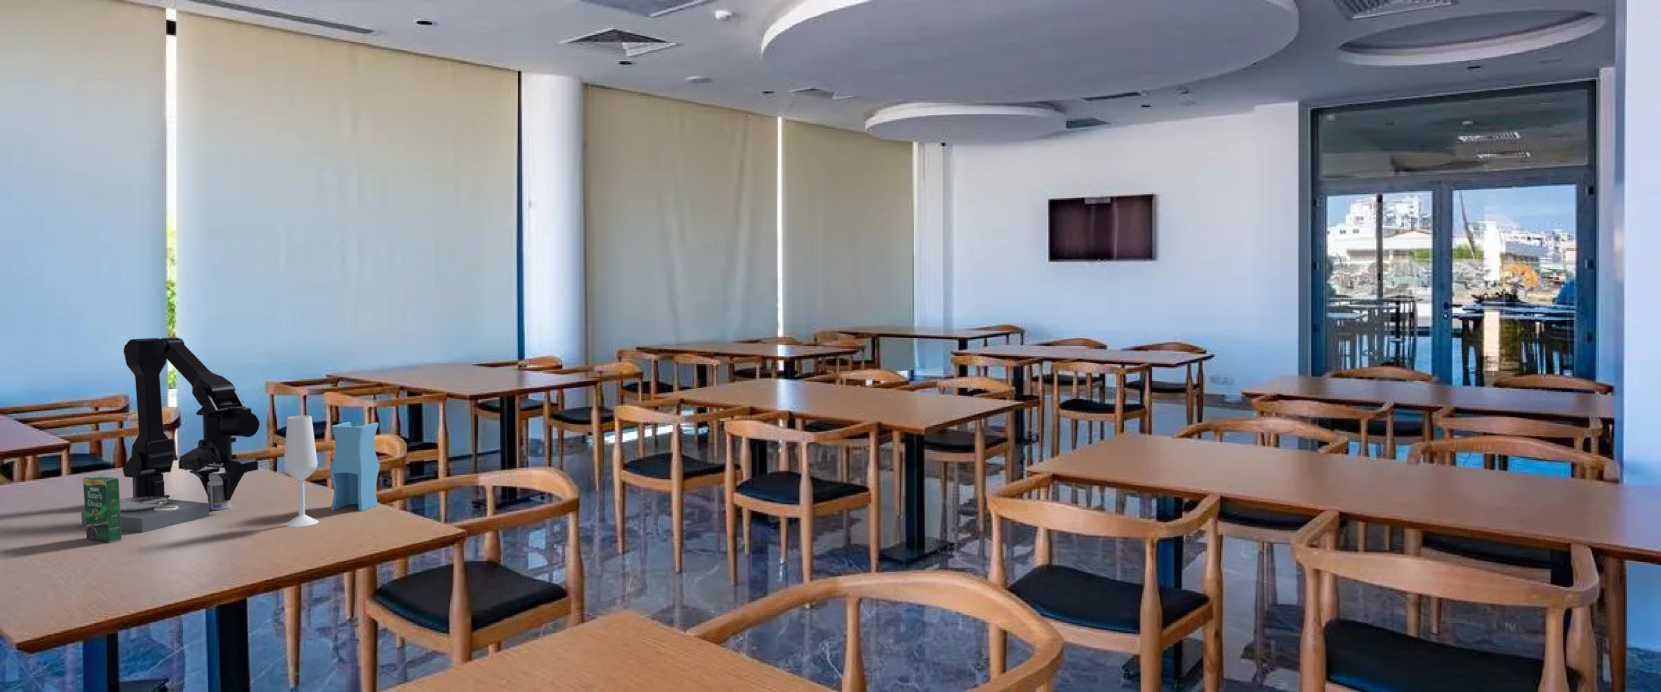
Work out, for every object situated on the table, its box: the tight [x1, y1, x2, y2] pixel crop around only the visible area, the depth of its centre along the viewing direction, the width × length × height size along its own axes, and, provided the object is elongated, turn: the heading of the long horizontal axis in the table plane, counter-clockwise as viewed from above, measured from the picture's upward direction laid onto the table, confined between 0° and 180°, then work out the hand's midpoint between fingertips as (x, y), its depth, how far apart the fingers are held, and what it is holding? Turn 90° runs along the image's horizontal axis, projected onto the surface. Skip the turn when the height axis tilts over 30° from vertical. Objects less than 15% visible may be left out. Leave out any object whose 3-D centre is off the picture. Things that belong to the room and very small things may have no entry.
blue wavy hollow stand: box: [329, 421, 381, 512], centre depth 240 cm, size 8×8×20 cm
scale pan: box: [120, 497, 168, 512], centre depth 225 cm, size 11×11×1 cm
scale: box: [81, 498, 210, 533], centre depth 225 cm, size 18×16×4 cm
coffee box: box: [82, 475, 122, 543], centre depth 208 cm, size 8×3×13 cm, turn 66°
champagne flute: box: [283, 415, 320, 528], centre depth 223 cm, size 7×7×24 cm
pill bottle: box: [207, 471, 232, 511], centre depth 238 cm, size 5×5×8 cm
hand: (219, 499), depth 238 cm, fingers closed on pill bottle, 5 cm apart
